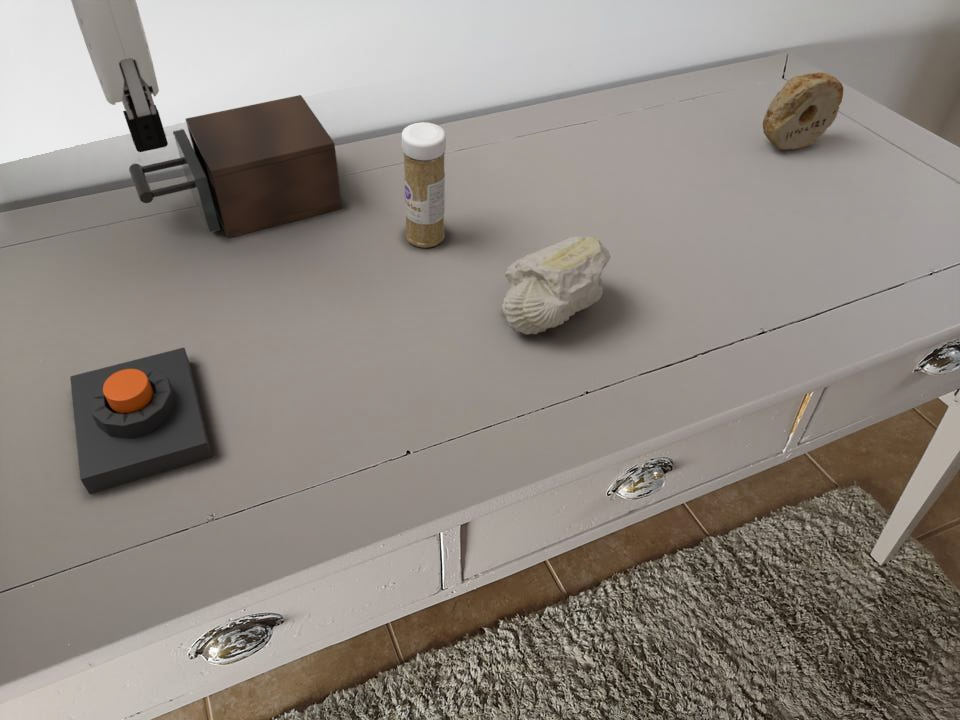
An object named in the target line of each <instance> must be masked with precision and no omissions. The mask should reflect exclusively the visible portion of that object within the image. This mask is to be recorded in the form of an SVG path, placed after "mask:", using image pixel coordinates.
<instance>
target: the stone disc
mask: <svg viewBox="0 0 960 720" xmlns="http://www.w3.org/2000/svg"><path fill="white" fill-rule="evenodd" d="M843 97H844V86H843V84H842V82H841V81H839V79H838V78H837V77H835V76H833V75H831V74H829V73H826V72H814V73H803V74H801V75H796V76H793V77H791V78H790V79H789V80H787V81H786V82H785V83H784V85H783V86H782V88H781V90H779V91H778V92H777V93H776V95H775V96H774V97H773V98H772V100H771V102H770V104H769V105H768V107H767V110H766V112H765V114H764V117H763V119H762V130H763V134H764V135H765V137H766V139H767V140H768V141H769V142H770V143H771V144H772V145H773V146H774V147H775V148H778V149H779V150H784V151H785V150H791V151H792V150H798V149H802V148H805V147H806V148H807V147H808V146H811V145H812V144H813V143H815V142H816V141H818V140H819V139H820V138H821V137H822V136H823V134H825V132H826V131H827V130H828V128H829V127H831V126H832V124H833V123H834V121H835V120H836V118H837V116H838V112H839V110H840V105H841V104H842V102H843Z"/></svg>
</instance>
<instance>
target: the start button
mask: <svg viewBox="0 0 960 720" xmlns="http://www.w3.org/2000/svg"><path fill="white" fill-rule="evenodd" d="M103 393H104V395H105V397H106V399H107V401H108V403H109V405H110V407H111V408H112V409H113V410H114V411H116V412H119V413H133V412H136V411H138V410H141V409H142V408H144V407H145V406H146V405H147V404H148V403H149V402H150V401H151V399H152V396H153V390H152V387H151V385H150V382H149V380H148V378H147V376H146V374H145V373H144V372H142V371H140V370H137V369H125V370H121V371H118V372H116V373H114V374H112V375H111V376H110V377H109V378H108V379H107V380H106V381H105V383H104V386H103Z"/></svg>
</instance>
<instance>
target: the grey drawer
mask: <svg viewBox="0 0 960 720" xmlns="http://www.w3.org/2000/svg"><path fill="white" fill-rule="evenodd" d="M172 133H173V136H174V140H175V144H176V147H177V151H178V154H179V157H178V158H174V159H169V160H163V161H161V162H156V163H151V164H145V165H141V164H139V163H132V164H131V165H130V166H129V167H128V172H129V174H130V177H131V179H132V182H133V185H134V188H135V191H136V193H137V195H138V199H139V201H140V202H141V203H143V204H150V203H152V202H153V201H154V198H157V197H162V196H165V195H170V194H175V193H179V192H184V191H187V190H190V192H191V195H192V196H193V199H194V201H195V202H196V206H197V207H198V210H199V212H200V214H201V217H202V219H203V221H204V223H205V225H206V228H207V230H208V232H209V233H213V232H217V231H221V227H220V223H219V218H218V216H217V214H216V212H215V208H214V204H213V200H212V196H211V192H210V189H209V185H208V181H207V177H206V175H205V173H204V171H203V169H202V166H201V164H200V162H199V160H198V158H197V156H196V154H195V152H194V150H193V146H192V142H191V140H190V139H189V136H188V135H187V133H186V131H185V129H177V130H173V132H172ZM178 166H182V168H183V171H184V176H185V180H186V182H181V183H178V184H173V185H168V186H165V187H159V188H156V189H151V187H150V184H149V181H148V179H147V176H146V174H148V173H153V172H156V171H161V170H165V169H170V168H174V167H178ZM206 167H207V165H206ZM207 171H208V174H209V179H210V181H211V183H212V185H213V181H212V177H211V173H210V171H209V169H208V167H207ZM213 187H214V185H213Z"/></svg>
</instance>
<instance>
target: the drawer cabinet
mask: <svg viewBox="0 0 960 720" xmlns="http://www.w3.org/2000/svg"><path fill="white" fill-rule="evenodd" d="M185 124H186V127H187V130H188V135H189V138H190V143H191V145H192V148H193V150H194V152H195V154H196V156H197V158H198V160H199V162H200V164H201V166H202V169H203V171H204V173H205V175H206V177H207V181H208V185H209V189H210V192H211V196H212V200H213V204H214V208H215V212H216V215H217V219H218V221H219V222H220V224H221V227H222V229H223V230H224V233H225V235H226V237H227V238H228V239H229V238H233V237H237V236H242V235H246V234H248V233H253V232H256V231H260V230H263V229H267V228H272V227H275V226H279V225H283V224H287V223H291V222H295V221H298V220H303V219H306V218H311V217H314V216H318V215H321V214H325V213H328V212H329V213H330V212H333V211H337V210H340V209H341V210H342V208H343V205H342V197H341V187H340V179H339V170H338V162H337V161H338V160H337V153H336V146H335V144H336V143H335V141H334V140H333V138H332V137H331V136H330V135H329V133H328V132H327V130H326V129H325V128H324V126H323V125H322V123H321V121H320V120H319V118H318V117H317V116H316V114H315V113H314V111H313V110H312V109H311V107H310V106H309V104H308V103H307V102H306V100H305V99H304V97H303V96H302V94H299V95H294V96H289V97H284V98H279V99H274V100H269V101H264V102H259V103H255V104H249V105H245V106H240V107H235V108H231V109H226V110H225V109H224V110H221V111H216V112H211V113H205V114H202V115H197V116H192V117H186V118H185ZM206 165H207V167H208V169H209V171H210V173H211V177H212V181H213V185H214V187H213V185H212V183H211V181H210V179H209V174H208V171H207V167H206Z"/></svg>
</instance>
